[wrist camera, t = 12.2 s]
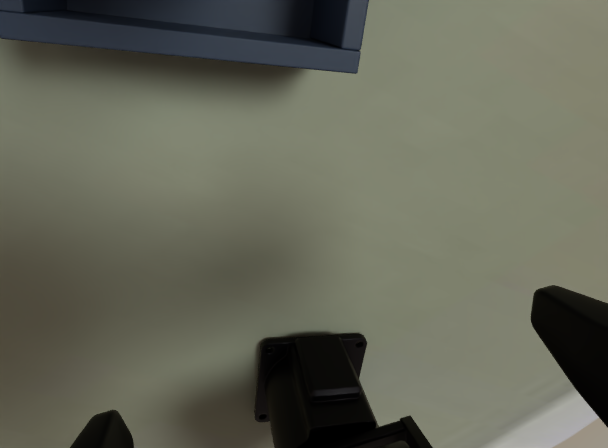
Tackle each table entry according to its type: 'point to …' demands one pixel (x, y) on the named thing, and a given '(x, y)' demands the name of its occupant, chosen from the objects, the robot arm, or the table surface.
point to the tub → (200, 28)
